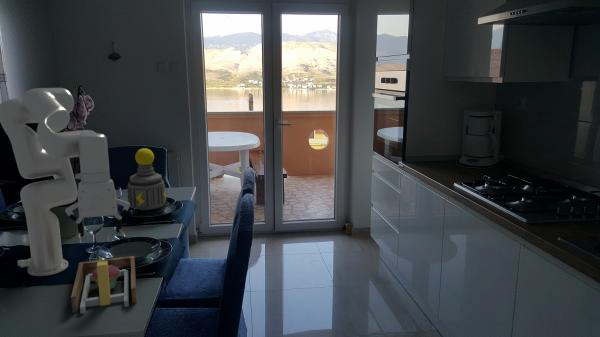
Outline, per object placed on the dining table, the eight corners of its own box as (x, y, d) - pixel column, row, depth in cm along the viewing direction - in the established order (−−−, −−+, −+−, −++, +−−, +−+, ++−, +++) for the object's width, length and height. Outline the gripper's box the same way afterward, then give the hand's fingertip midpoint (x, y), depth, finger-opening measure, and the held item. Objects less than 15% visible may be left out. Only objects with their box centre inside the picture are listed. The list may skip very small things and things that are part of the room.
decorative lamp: (160, 211, 226) (156, 152, 219) (122, 210, 226) (118, 151, 220) (171, 200, 244) (168, 145, 238) (136, 199, 245) (132, 144, 238)
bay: (72, 312, 133) (70, 297, 132) (80, 276, 156) (79, 262, 155) (136, 302, 139) (135, 287, 138) (135, 269, 162) (134, 255, 161)
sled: (80, 313, 132) (76, 272, 129) (86, 280, 153) (83, 243, 150) (128, 306, 137) (125, 266, 134) (128, 274, 157) (126, 239, 155)
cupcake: (103, 295, 143) (100, 260, 140) (87, 288, 147) (83, 254, 145) (126, 285, 150) (124, 251, 147) (110, 278, 154) (107, 245, 152)
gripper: (60, 182, 124) (66, 241, 127) (128, 177, 130) (132, 234, 133) (63, 176, 131) (69, 232, 134) (127, 172, 137) (131, 225, 140)
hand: (100, 233), depth 134 cm, fingers open, 9 cm apart
